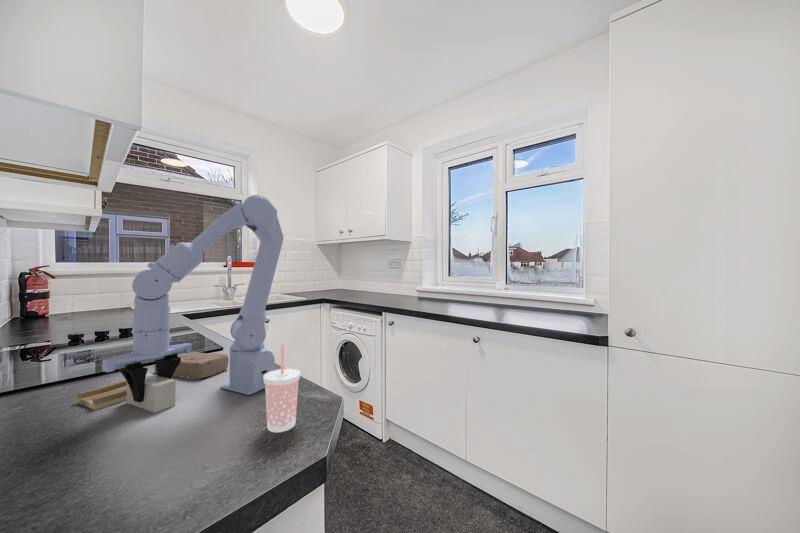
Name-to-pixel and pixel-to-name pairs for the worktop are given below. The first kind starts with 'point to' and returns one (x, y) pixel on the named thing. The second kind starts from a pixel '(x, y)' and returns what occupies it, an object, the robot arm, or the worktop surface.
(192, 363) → the brick
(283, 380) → the beverage cup
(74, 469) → the worktop surface
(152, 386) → the white rectangular block
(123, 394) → the wooden base plate
